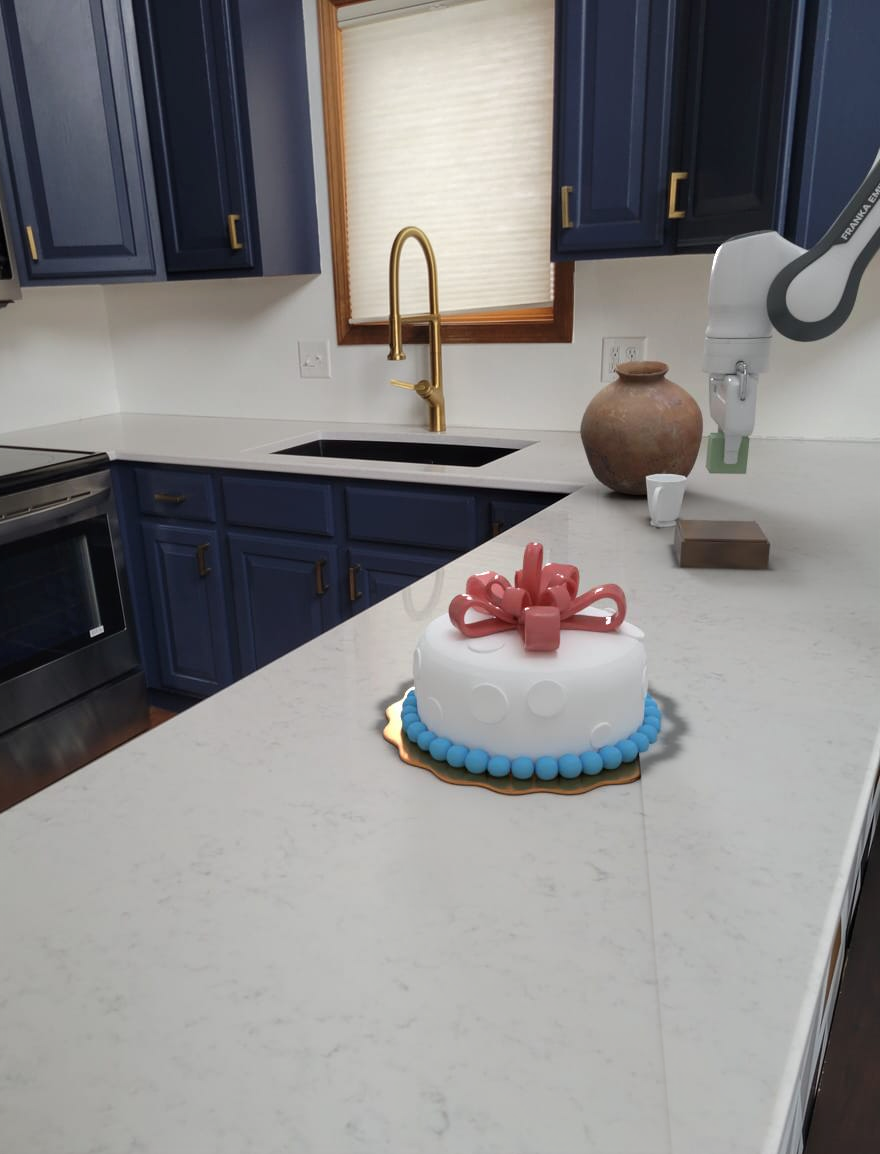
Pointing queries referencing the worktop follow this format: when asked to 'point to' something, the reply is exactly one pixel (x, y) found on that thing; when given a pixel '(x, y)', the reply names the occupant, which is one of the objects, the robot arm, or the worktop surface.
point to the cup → (665, 498)
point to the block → (716, 455)
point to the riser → (721, 544)
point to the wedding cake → (528, 687)
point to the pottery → (641, 428)
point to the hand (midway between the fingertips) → (726, 459)
